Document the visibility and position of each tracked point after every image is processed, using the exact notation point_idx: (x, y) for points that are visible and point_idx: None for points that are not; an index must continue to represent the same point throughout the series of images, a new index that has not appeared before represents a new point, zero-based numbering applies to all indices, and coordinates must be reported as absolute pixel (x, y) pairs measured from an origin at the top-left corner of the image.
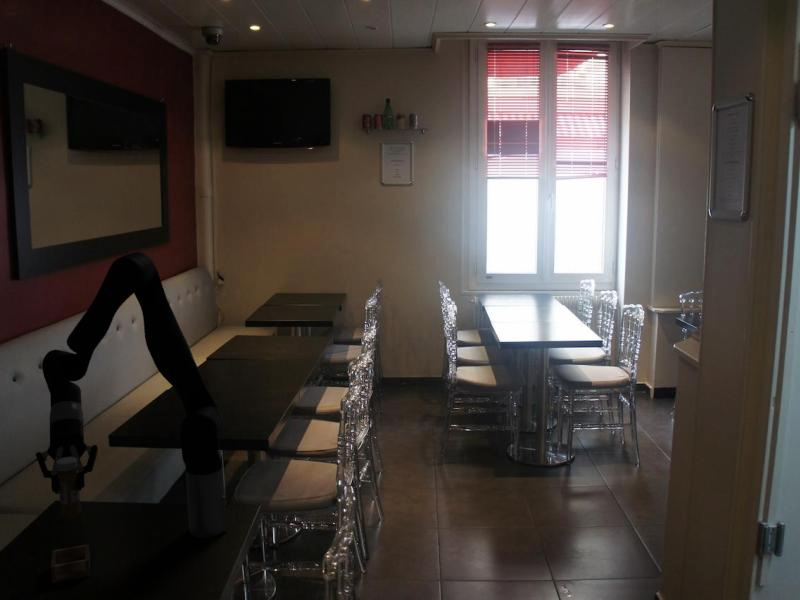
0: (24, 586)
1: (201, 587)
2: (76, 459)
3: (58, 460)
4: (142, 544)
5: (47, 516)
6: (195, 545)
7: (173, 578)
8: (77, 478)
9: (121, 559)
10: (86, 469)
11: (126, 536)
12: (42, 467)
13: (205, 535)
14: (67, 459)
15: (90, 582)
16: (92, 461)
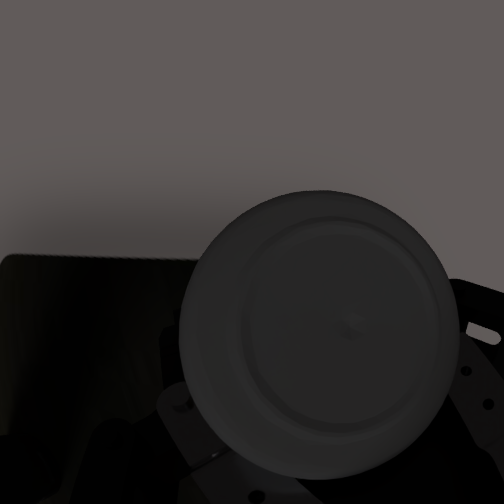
0: None
1: (14, 269)
2: (187, 375)
3: (443, 303)
4: None
5: None
6: (33, 413)
7: (46, 299)
8: None
9: (151, 385)
10: (145, 426)
11: (180, 482)
12: (494, 296)
13: (22, 434)
14: (344, 349)
15: None
16: (82, 478)
